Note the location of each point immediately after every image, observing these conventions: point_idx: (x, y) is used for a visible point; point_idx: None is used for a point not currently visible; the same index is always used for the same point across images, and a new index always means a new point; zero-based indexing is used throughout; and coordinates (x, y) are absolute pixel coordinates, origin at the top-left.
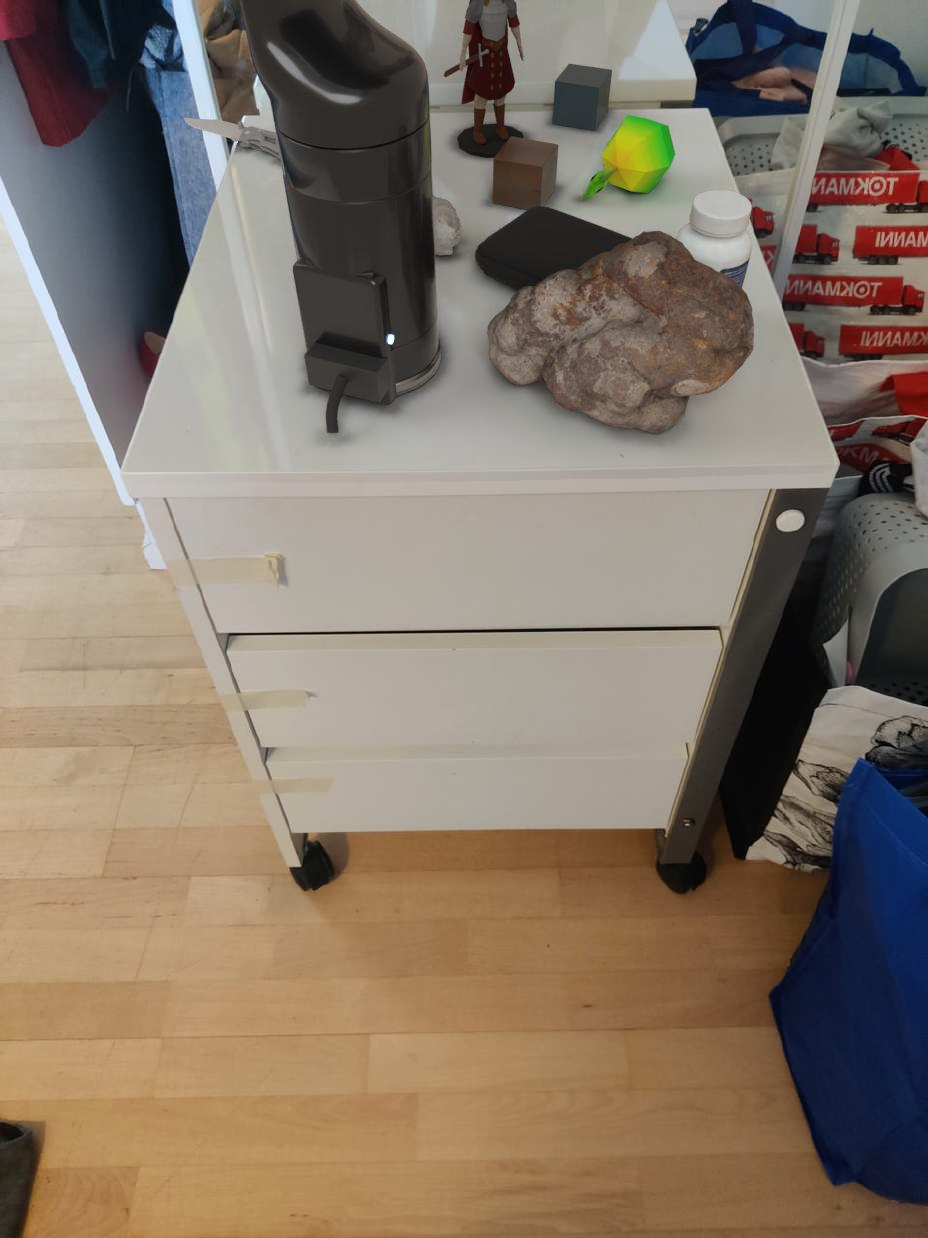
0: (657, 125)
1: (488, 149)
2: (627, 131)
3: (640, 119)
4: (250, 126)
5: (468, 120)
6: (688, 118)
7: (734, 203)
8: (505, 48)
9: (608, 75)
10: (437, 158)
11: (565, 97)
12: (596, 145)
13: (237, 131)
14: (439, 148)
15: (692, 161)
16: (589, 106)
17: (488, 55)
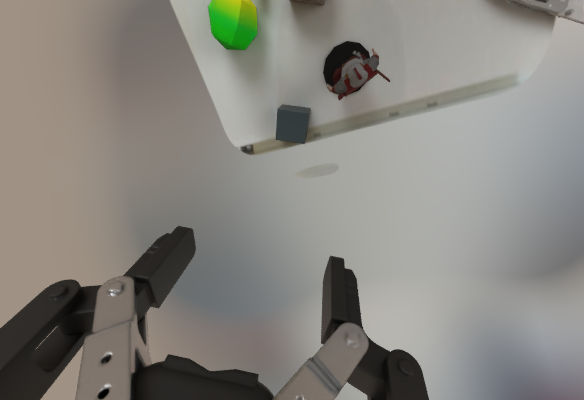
0: (212, 10)
1: (346, 50)
2: (233, 4)
3: (226, 18)
4: (559, 11)
5: (366, 100)
6: (234, 135)
7: None
8: (340, 71)
9: (276, 130)
10: (383, 28)
11: (301, 110)
12: (277, 83)
13: (572, 4)
14: (383, 47)
15: (216, 76)
16: (285, 107)
17: (353, 58)
